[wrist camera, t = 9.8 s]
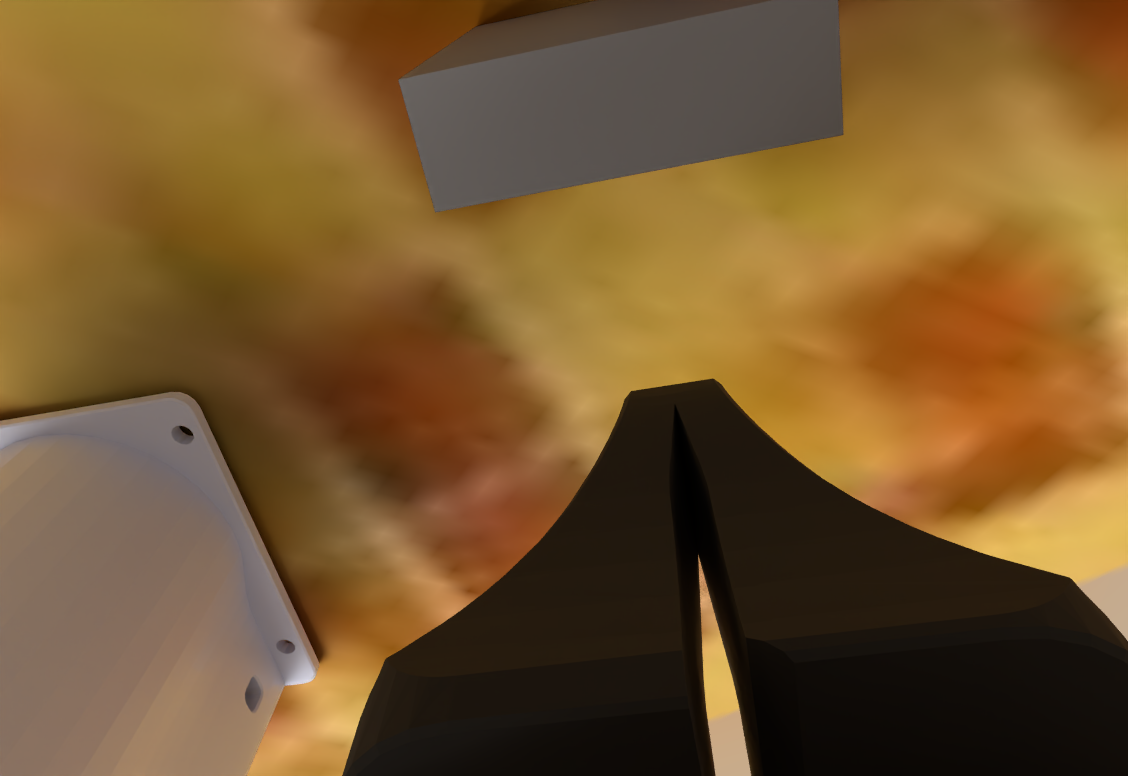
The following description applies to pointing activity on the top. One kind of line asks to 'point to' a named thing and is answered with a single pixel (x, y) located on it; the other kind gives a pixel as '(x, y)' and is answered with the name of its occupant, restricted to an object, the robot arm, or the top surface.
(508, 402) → the top surface
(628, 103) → the grey rectangular block
